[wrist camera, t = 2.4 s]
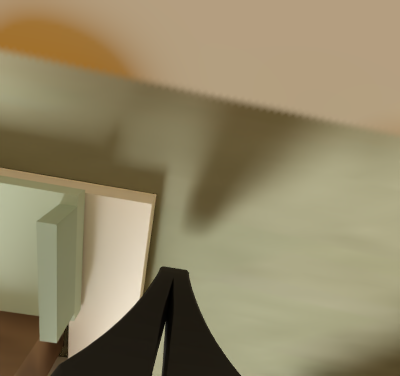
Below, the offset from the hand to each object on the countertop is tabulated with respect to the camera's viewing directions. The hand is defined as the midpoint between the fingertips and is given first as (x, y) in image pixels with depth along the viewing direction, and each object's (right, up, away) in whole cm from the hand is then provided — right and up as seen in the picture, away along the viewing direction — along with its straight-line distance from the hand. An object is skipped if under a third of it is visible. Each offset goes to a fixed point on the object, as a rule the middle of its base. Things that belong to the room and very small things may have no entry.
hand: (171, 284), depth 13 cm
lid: (-9, +2, +1) cm, 9 cm away
